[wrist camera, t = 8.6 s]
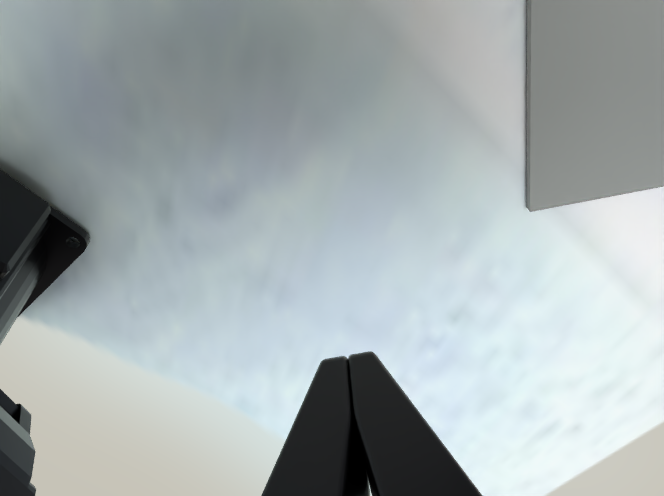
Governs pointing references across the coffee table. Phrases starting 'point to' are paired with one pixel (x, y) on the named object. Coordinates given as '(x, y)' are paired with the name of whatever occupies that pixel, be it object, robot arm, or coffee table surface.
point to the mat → (593, 99)
